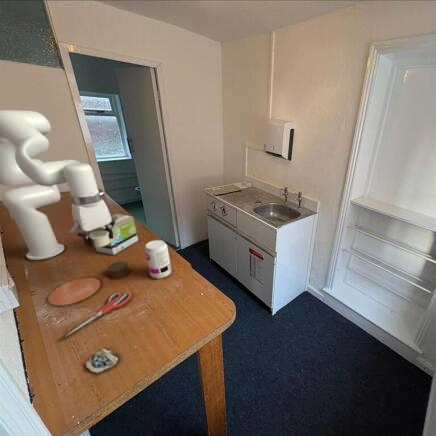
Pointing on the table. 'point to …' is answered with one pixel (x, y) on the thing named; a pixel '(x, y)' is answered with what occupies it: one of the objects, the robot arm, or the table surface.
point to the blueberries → (101, 361)
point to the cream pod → (100, 238)
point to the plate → (74, 291)
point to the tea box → (119, 235)
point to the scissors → (108, 307)
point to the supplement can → (158, 259)
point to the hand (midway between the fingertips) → (100, 241)
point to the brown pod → (118, 269)
